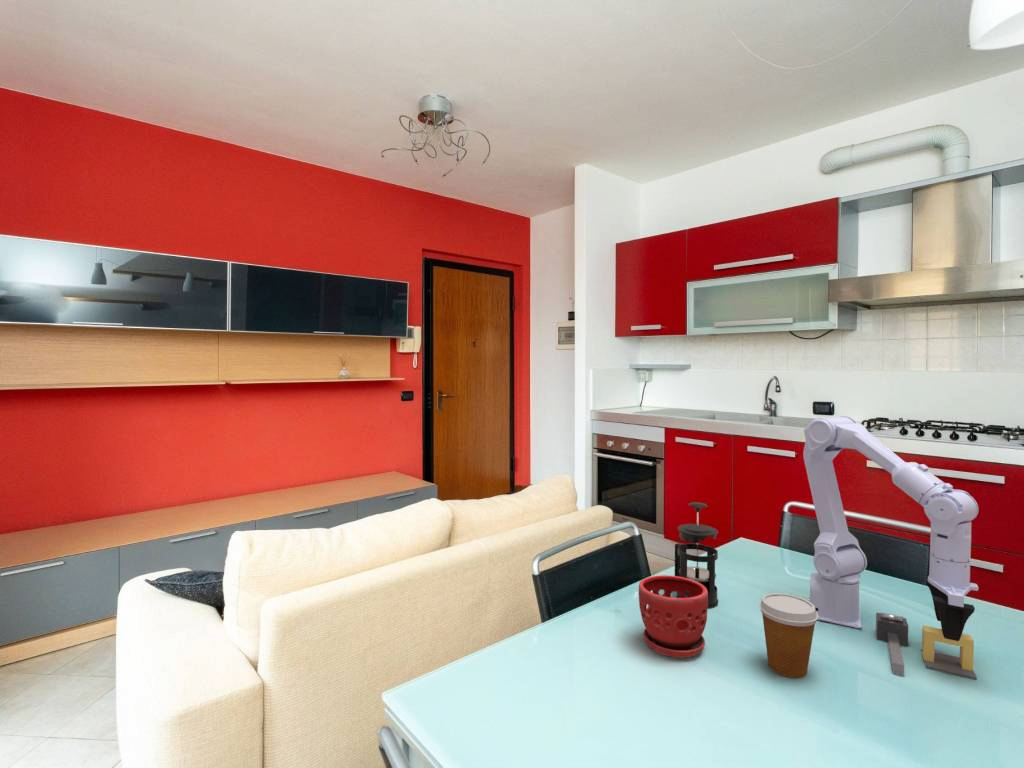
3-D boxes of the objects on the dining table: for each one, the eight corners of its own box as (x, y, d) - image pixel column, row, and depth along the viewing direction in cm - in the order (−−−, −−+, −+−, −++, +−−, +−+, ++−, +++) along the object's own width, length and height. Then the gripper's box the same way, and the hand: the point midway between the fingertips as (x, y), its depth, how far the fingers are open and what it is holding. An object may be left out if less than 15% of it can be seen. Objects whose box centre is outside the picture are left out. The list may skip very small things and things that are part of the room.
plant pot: (718, 644, 104) (719, 584, 104) (689, 672, 94) (690, 606, 94) (657, 622, 113) (658, 567, 113) (625, 646, 103) (626, 585, 103)
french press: (729, 604, 122) (730, 506, 121) (700, 613, 117) (701, 511, 117) (690, 586, 132) (691, 495, 131) (662, 593, 128) (663, 499, 127)
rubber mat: (926, 668, 96) (926, 665, 96) (921, 650, 102) (921, 648, 102) (976, 679, 92) (976, 677, 92) (968, 661, 98) (968, 659, 98)
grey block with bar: (881, 670, 95) (881, 644, 95) (875, 631, 109) (876, 608, 109) (916, 679, 92) (916, 652, 92) (905, 637, 107) (906, 614, 106)
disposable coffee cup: (795, 689, 89) (796, 619, 89) (747, 661, 98) (748, 598, 97) (829, 674, 94) (830, 608, 93) (780, 649, 102) (781, 588, 102)
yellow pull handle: (923, 659, 98) (924, 630, 98) (922, 653, 100) (922, 625, 100) (973, 671, 94) (973, 641, 94) (970, 664, 96) (970, 635, 96)
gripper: (988, 574, 88) (985, 654, 88) (969, 549, 100) (967, 619, 101) (934, 566, 92) (932, 642, 92) (923, 543, 104) (921, 610, 105)
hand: (947, 629), depth 97 cm, fingers open, 7 cm apart
